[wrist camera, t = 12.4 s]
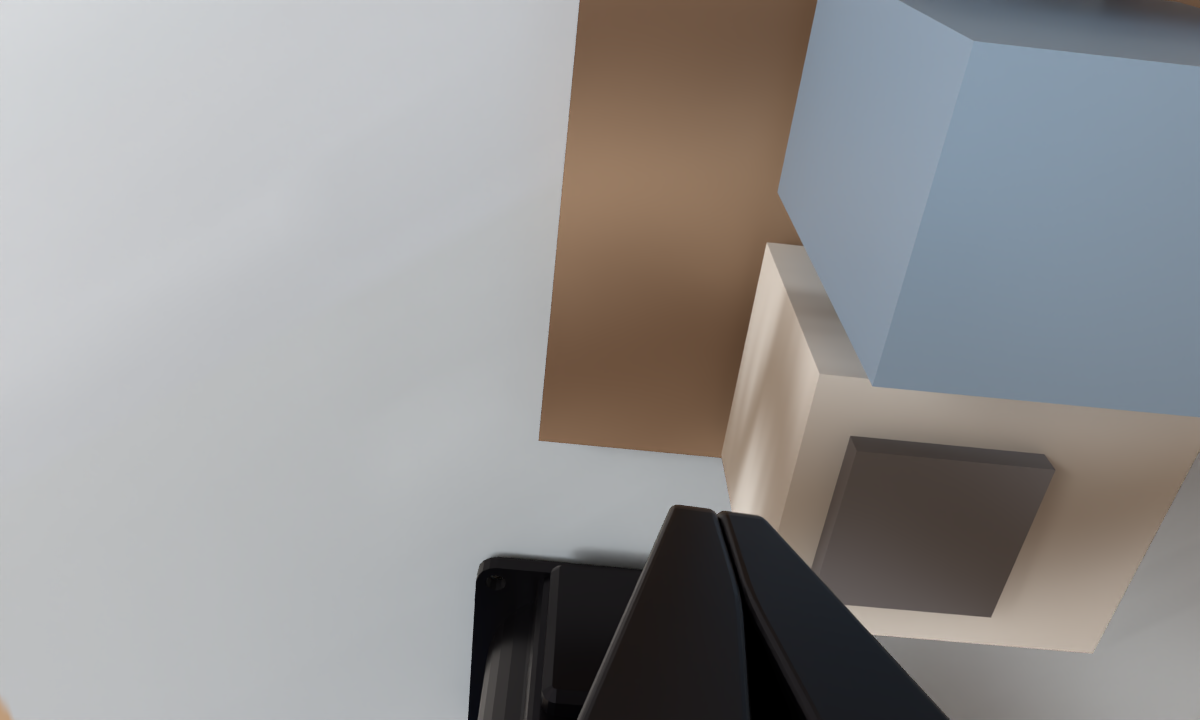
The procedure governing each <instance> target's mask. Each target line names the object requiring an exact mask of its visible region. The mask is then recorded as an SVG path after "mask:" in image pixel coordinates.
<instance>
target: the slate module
mask: <svg viewBox="0 0 1200 720" xmlns="http://www.w3.org/2000/svg"><path fill="white" fill-rule="evenodd" d="M778 195H779V197H780V199H781V201H782V203H783V205H784V207H785V209H786V211H787V213H788V215H789V217H790V219H791V221H792V223H793V225H794V227H795V229H796V231H797V233H798V235H799V237H800V239H801V242H802V244H803V246H804V248H805V250H806V252H807V254H808V256H809V258H810V260H811V262H812V264H813V266H814V268H815V270H816V272H817V274H818V276H819V278H820V280H821V282H822V284H823V286H824V289H825V291H826V293H827V295H828V297H829V299H830V301H831V303H832V305H833V307H834V309H835V311H836V313H837V315H838V317H839V319H840V321H841V323H842V325H843V327H844V329H845V331H846V333H847V336H848V338H849V340H850V342H851V344H852V346H853V348H854V350H855V352H856V354H857V356H858V358H859V360H860V362H861V364H862V366H863V368H864V370H865V372H866V374H867V376H868V378H869V380H870V382H871V385H872V386H873V387H883V388H894V389H905V390H915V391H926V392H936V393H947V394H957V395H968V396H979V397H989V398H1000V399H1010V400H1021V401H1032V402H1042V403H1053V404H1063V405H1074V406H1084V407H1095V408H1106V409H1116V410H1127V411H1137V412H1148V413H1159V414H1169V415H1180V416H1190V417H1200V8H1198V7H1194V6H1190V5H1187V4H1183V3H1180V2H1176V1H1167V0H817V5H816V10H815V15H814V20H813V24H812V29H811V34H810V39H809V43H808V48H807V53H806V58H805V63H804V67H803V72H802V77H801V82H800V86H799V91H798V96H797V101H796V106H795V110H794V115H793V120H792V125H791V130H790V134H789V139H788V144H787V149H786V153H785V158H784V163H783V168H782V173H781V177H780V182H779V187H778Z"/></svg>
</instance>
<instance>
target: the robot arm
mask: <svg viewBox="0 0 1200 720" xmlns="http://www.w3.org/2000/svg"><path fill="white" fill-rule="evenodd" d="M494 575H497V576H501V577H502V578H503V579H493V578H491V577H490V576H494ZM468 720H950V719H949V718H948V717H947V716H946V715H945V714H944V713H943V712H942V710H941V709H940V708H939V707H938V706H937V705H936V704H935V703H934V702H933V701H932V700H931V699H930V697H929V696H928V695H927V694H926V693H925V692H924V691H923V690H922V689H921V688H920V687H919V685H918V684H917V683H916V682H915V681H914V680H913V679H912V678H911V677H910V676H909V675H908V674H907V672H906V671H905V670H904V669H903V668H902V667H901V666H900V665H899V664H898V663H897V662H896V660H895V659H894V658H893V657H892V656H891V655H890V654H889V653H888V652H887V651H886V650H885V649H884V647H883V646H882V645H881V644H880V643H879V642H878V641H877V640H876V639H875V638H874V637H873V635H872V634H871V633H870V632H869V631H868V630H867V629H866V628H865V627H864V626H863V625H862V624H861V622H860V621H859V620H858V619H857V618H856V617H855V616H854V615H853V614H852V613H851V612H850V610H849V609H848V608H847V607H846V606H845V605H844V604H843V603H842V602H841V601H840V600H839V599H838V597H837V596H836V595H835V594H834V593H833V592H832V591H831V590H830V589H829V588H828V587H827V585H826V584H825V583H824V582H823V581H822V580H821V579H820V578H819V577H818V576H817V575H816V574H815V572H814V571H813V570H812V569H811V568H810V567H809V566H808V565H807V564H806V563H805V562H804V560H803V559H802V558H801V557H800V556H799V555H798V554H797V553H796V552H795V551H794V550H793V549H792V547H791V546H790V545H789V544H788V543H787V542H786V541H785V540H784V539H783V538H782V537H781V535H780V534H779V533H778V532H777V531H776V530H775V529H774V528H773V527H772V526H771V525H770V524H769V522H768V521H767V520H765V519H764V518H763V517H761V516H759V515H753V514H746V513H738V512H730V511H722V512H720V513H718V514H716V513H715V512H714V511H713V510H711V509H707V508H699V507H692V506H684V505H674V506H672V507H671V508H670V509H669V512H668V514H667V516H666V518H665V520H664V523H663V525H662V527H661V530H660V532H659V534H658V536H657V539H656V541H655V543H654V546H653V548H652V550H651V552H650V555H649V557H648V559H647V561H646V564H645V566H644V568H643V570H639V569H628V568H616V567H605V566H594V565H582V564H571V563H559V562H548V561H536V560H525V559H514V558H502V557H494V558H489V559H486V560H484V561H483V562H482V563H481V564H480V566H479V569H478V573H477V579H476V591H475V609H474V626H473V643H472V660H471V678H470V695H469V712H468Z"/></svg>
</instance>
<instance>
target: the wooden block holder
mask: <svg viewBox="0 0 1200 720" xmlns="http://www.w3.org/2000/svg"><path fill="white" fill-rule="evenodd" d="M1167 1H1176V2H1180V3H1183V4H1187V5H1190V6H1194V7H1198V8H1200V0H1167ZM816 5H817V0H580V3H579V14H578V25H577V35H576V46H575V57H574V68H573V78H572V89H571V100H570V110H569V121H568V132H567V143H566V153H565V164H564V175H563V185H562V196H561V207H560V218H559V228H558V239H557V250H556V260H555V271H554V282H553V293H552V303H551V314H550V325H549V336H548V346H547V357H546V368H545V378H544V389H543V400H542V411H541V421H540V432H539V441H548V442H559V443H569V444H580V445H591V446H601V447H612V448H623V449H633V450H644V451H655V452H665V453H676V454H687V455H697V456H708V457H719V458H722V461H723V466H724V472H725V477H726V482H727V488H728V493H729V498H730V504H731V509H732V512H738V513H746V514H753V515H759V516H761V517H763V518H764V519H765V520H767V521H768V522H769V524H770V525H771V526H772V527H773V528H774V529H775V530H776V531H777V532H778V533H779V534H780V535H781V537H782V538H783V539H784V540H785V541H786V542H787V543H788V544H789V545H790V546H791V547H792V549H793V550H794V551H795V552H796V553H797V554H798V555H799V556H800V557H801V558H802V559H803V560H804V562H805V563H806V564H807V565H808V566H809V567H810V568H811V569H812V570H813V571H814V572H815V574H816V575H817V576H818V577H819V578H820V579H821V580H822V581H823V582H824V583H825V584H826V585H827V587H828V588H829V589H830V590H831V591H832V592H833V593H834V594H835V595H836V596H837V597H838V599H839V600H840V601H841V602H842V603H843V604H844V605H845V606H846V607H847V608H848V609H849V610H850V612H851V613H852V614H853V615H854V616H855V617H856V618H857V619H858V620H859V621H860V622H861V624H862V625H863V626H864V627H865V628H866V629H867V630H868V631H869V632H870V633H871V634H872V635H881V636H892V637H904V638H916V639H928V640H939V641H951V642H963V643H975V644H986V645H998V646H1010V647H1022V648H1034V649H1045V650H1057V651H1069V652H1081V653H1092V654H1093V652H1094V650H1095V648H1096V647H1097V645H1098V643H1099V641H1100V639H1101V637H1102V635H1103V633H1104V631H1105V629H1106V627H1107V626H1108V624H1109V622H1110V620H1111V618H1112V616H1113V614H1114V612H1115V610H1116V608H1117V607H1118V605H1119V603H1120V601H1121V599H1122V597H1123V595H1124V593H1125V591H1126V589H1127V588H1128V586H1129V584H1130V582H1131V580H1132V578H1133V576H1134V574H1135V572H1136V570H1137V569H1138V567H1139V565H1140V563H1141V561H1142V559H1143V557H1144V555H1145V553H1146V551H1147V550H1148V548H1149V546H1150V544H1151V542H1152V540H1153V538H1154V536H1155V534H1156V532H1157V531H1158V529H1159V527H1160V525H1161V523H1162V521H1163V519H1164V517H1165V515H1166V513H1167V512H1168V510H1169V508H1170V506H1171V504H1172V502H1173V500H1174V498H1175V496H1176V494H1177V493H1178V491H1179V489H1180V487H1181V485H1182V483H1183V481H1184V479H1185V477H1186V475H1187V474H1188V472H1189V470H1190V468H1191V466H1192V464H1193V462H1194V460H1195V458H1196V456H1197V455H1198V453H1199V451H1200V417H1190V416H1180V415H1169V414H1159V413H1148V412H1137V411H1127V410H1116V409H1106V408H1095V407H1084V406H1074V405H1063V404H1053V403H1042V402H1032V401H1021V400H1010V399H1000V398H989V397H979V396H968V395H957V394H947V393H936V392H926V391H915V390H905V389H894V388H883V387H873V386H872V385H871V382H870V380H869V378H868V376H867V374H866V372H865V370H864V368H863V366H862V364H861V362H860V360H859V358H858V356H857V354H856V352H855V350H854V348H853V346H852V344H851V342H850V340H849V338H848V336H847V333H846V331H845V329H844V327H843V325H842V323H841V321H840V319H839V317H838V315H837V313H836V311H835V309H834V307H833V305H832V303H831V301H830V299H829V297H828V295H827V293H826V291H825V289H824V286H823V284H822V282H821V280H820V278H819V276H818V274H817V272H816V270H815V268H814V266H813V264H812V262H811V260H810V258H809V256H808V254H807V252H806V250H805V248H804V246H803V244H802V242H801V239H800V237H799V235H798V233H797V231H796V229H795V227H794V225H793V223H792V221H791V219H790V217H789V215H788V213H787V211H786V209H785V207H784V205H783V203H782V201H781V199H780V197H779V195H778V187H779V182H780V177H781V173H782V168H783V163H784V158H785V153H786V149H787V144H788V139H789V134H790V130H791V125H792V120H793V115H794V110H795V106H796V101H797V96H798V91H799V86H800V82H801V77H802V72H803V67H804V63H805V58H806V53H807V48H808V43H809V39H810V34H811V29H812V24H813V20H814V15H815V10H816Z"/></svg>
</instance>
